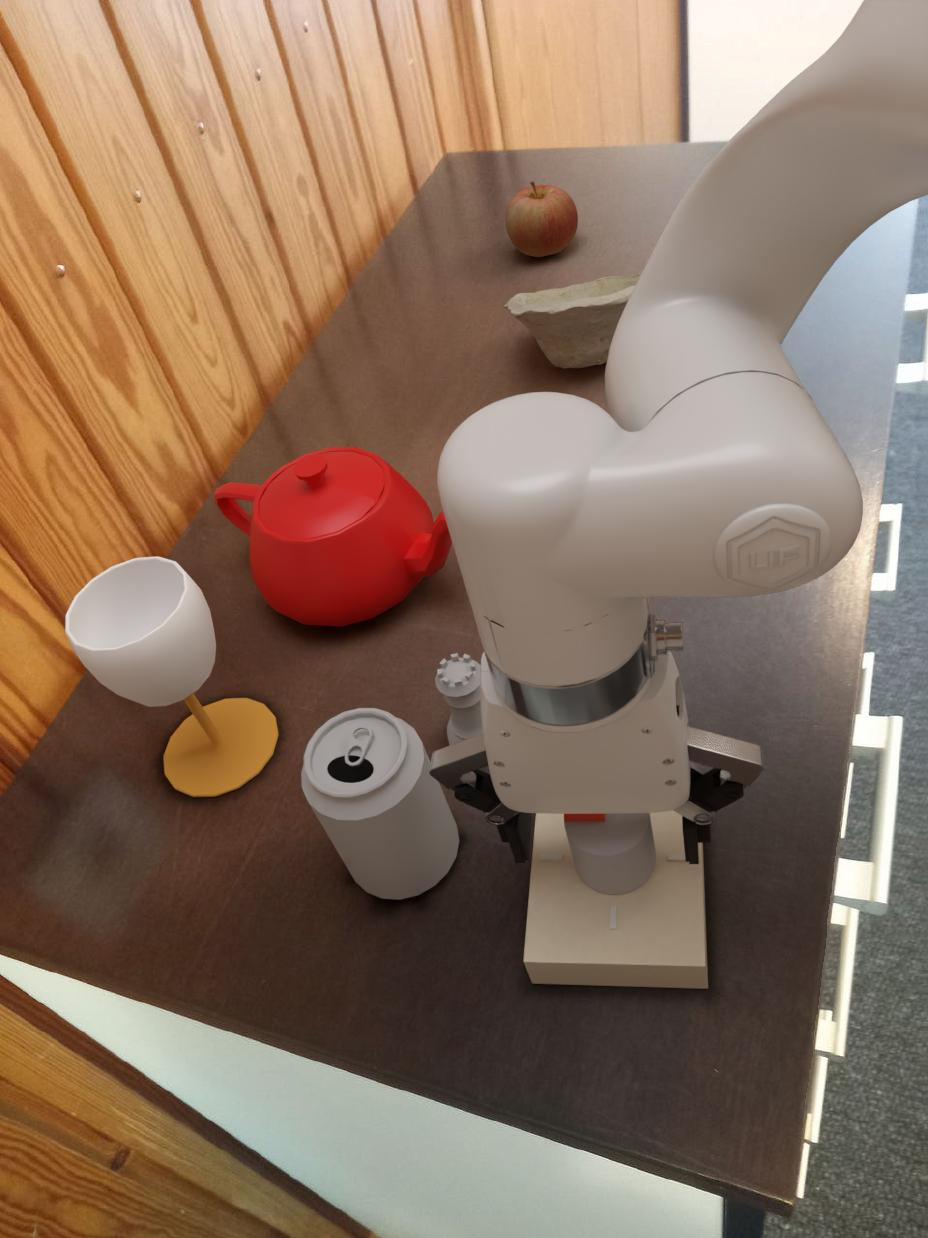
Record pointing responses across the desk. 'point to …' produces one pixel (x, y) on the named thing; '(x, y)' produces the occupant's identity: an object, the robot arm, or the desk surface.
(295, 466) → the teapot
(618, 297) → the bowl
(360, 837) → the can
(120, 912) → the desk surface
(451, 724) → the rook chess piece
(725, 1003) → the desk surface
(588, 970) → the panel
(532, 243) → the apple
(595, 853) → the knob
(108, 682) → the cup
